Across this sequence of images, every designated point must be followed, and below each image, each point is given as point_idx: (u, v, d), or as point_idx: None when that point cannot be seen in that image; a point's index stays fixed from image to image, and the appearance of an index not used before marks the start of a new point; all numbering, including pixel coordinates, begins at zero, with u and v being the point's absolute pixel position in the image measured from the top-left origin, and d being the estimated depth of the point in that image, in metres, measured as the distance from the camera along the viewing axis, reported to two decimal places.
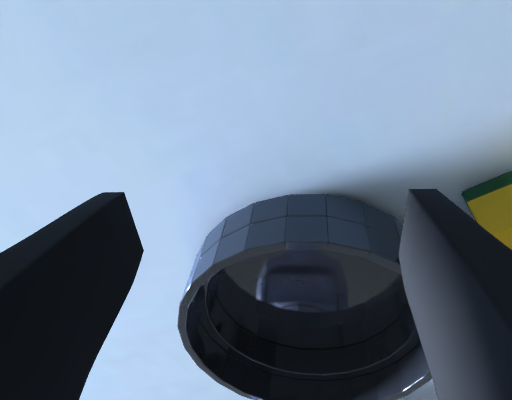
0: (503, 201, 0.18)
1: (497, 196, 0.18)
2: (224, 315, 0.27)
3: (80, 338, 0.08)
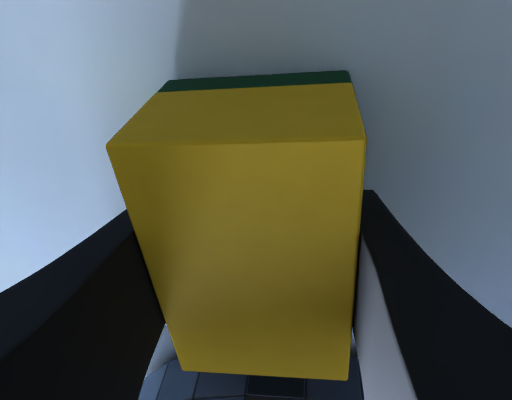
0: None
1: None
2: None
3: (138, 341, 0.08)
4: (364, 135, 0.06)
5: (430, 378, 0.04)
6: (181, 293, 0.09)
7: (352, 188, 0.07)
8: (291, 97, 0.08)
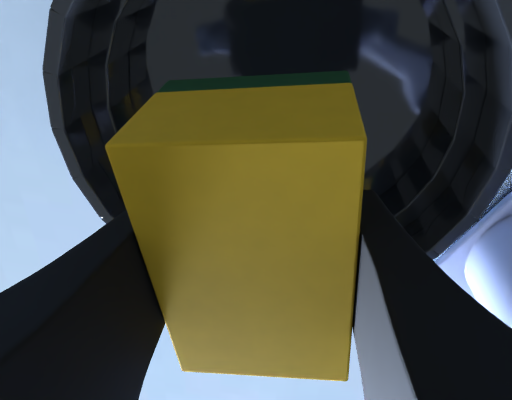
0: None
1: None
2: None
3: (138, 341, 0.08)
4: (364, 136, 0.06)
5: (430, 378, 0.04)
6: (181, 294, 0.09)
7: (352, 189, 0.06)
8: (292, 98, 0.08)
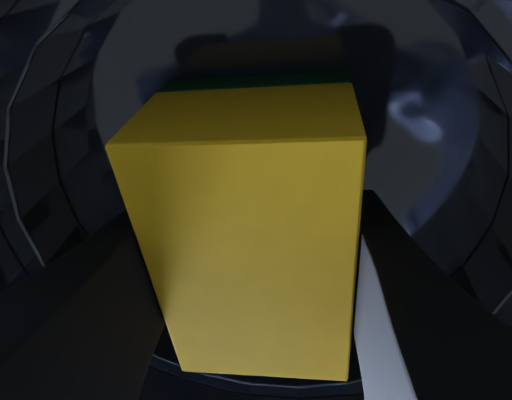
0: None
1: None
2: None
3: (138, 341, 0.08)
4: (364, 135, 0.06)
5: (430, 378, 0.04)
6: (181, 293, 0.09)
7: (352, 188, 0.06)
8: (291, 97, 0.08)
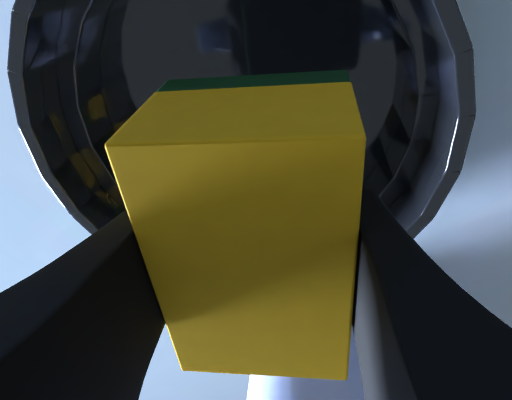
0: None
1: None
2: None
3: (138, 341, 0.08)
4: (363, 134, 0.06)
5: (430, 378, 0.04)
6: (180, 293, 0.09)
7: (351, 187, 0.06)
8: (290, 97, 0.08)
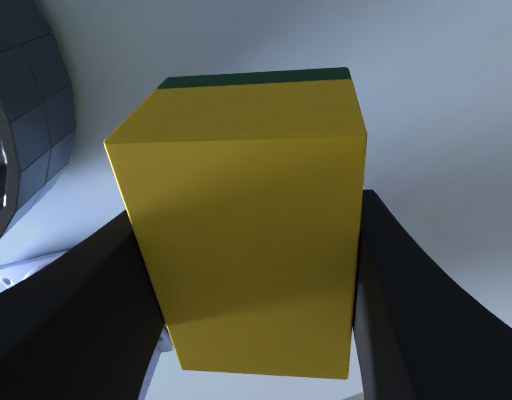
0: None
1: None
2: None
3: (138, 341, 0.08)
4: (364, 131, 0.06)
5: (430, 378, 0.04)
6: (180, 291, 0.09)
7: (352, 185, 0.06)
8: (291, 94, 0.08)
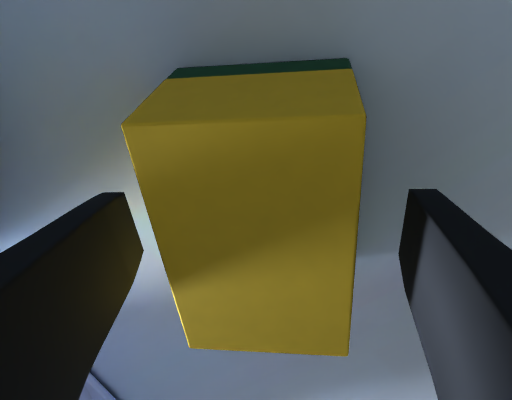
0: None
1: None
2: None
3: (80, 338, 0.08)
4: (364, 114, 0.06)
5: None
6: (189, 270, 0.09)
7: (352, 165, 0.07)
8: (295, 82, 0.08)
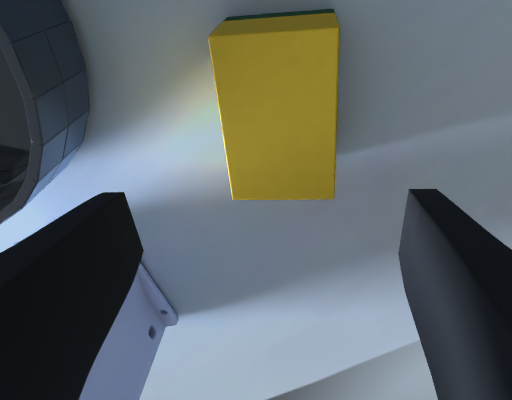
0: None
1: None
2: None
3: (80, 338, 0.08)
4: (338, 26, 0.12)
5: None
6: (238, 135, 0.15)
7: (333, 57, 0.13)
8: (302, 18, 0.14)
